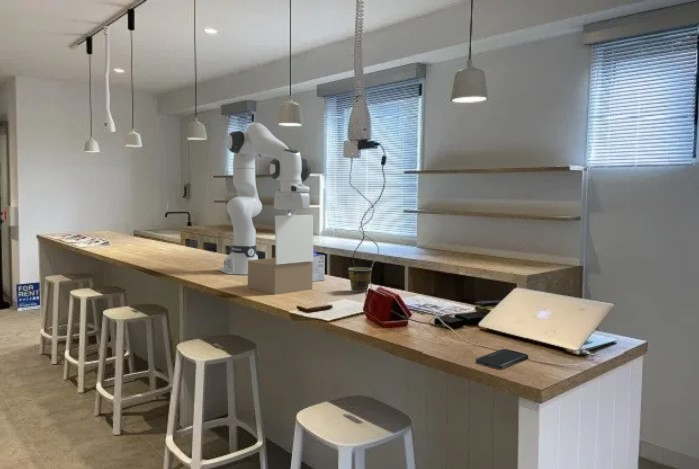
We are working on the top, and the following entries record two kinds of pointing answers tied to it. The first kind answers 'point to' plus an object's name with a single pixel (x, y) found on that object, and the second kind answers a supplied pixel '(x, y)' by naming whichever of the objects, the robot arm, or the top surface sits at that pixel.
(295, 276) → the carton
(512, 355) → the phone
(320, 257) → the ink cartridge box
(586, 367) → the top surface
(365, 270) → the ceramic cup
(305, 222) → the lid flap
